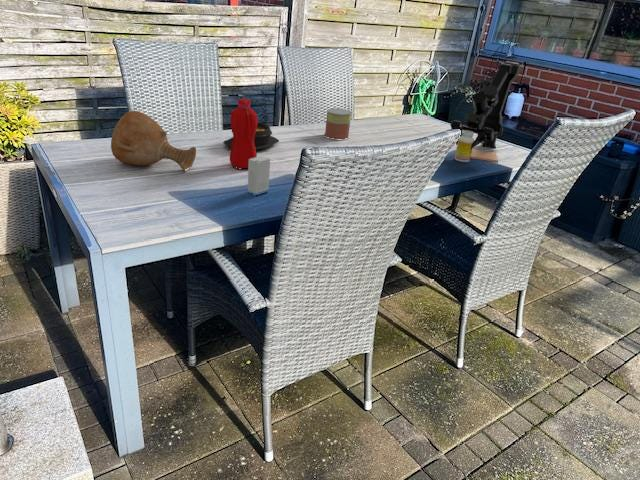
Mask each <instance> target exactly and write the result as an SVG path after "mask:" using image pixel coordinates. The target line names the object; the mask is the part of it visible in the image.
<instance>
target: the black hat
mask: <svg viewBox="0 0 640 480" xmlns="http://www.w3.org/2000/svg"><path fill="white" fill-rule="evenodd" d="M231 133H232V134H233V131H232V130H231ZM279 142H280V140H279V138H277V137H275V136H273V131H272V130H271V127H270V126H269V125H267V124H266V123H262V122H258V125H257V128H256V132H255V136H254V144H255V149H256V150H262V148H263V149H266V148H270V147H271V146H273V145H274V144H278V143H279ZM232 143H233V136H232V137H230V138H229V139H226V140H224V141H223V144H224V145H225V146H226V147H228V148H231V147H232Z"/></svg>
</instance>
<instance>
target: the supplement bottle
mask: <svg viewBox="0 0 640 480" xmlns="http://www.w3.org/2000/svg"><path fill="white" fill-rule="evenodd" d="M462 134H463V135H462V136H460V138H459V140H458V144H457V145H456V150H455V152H454V153H455V154H454V159H455V160H456V161H457V162H460V163H468V162H469V163H470V161H471V158H470V157H471V153H472V149H471V146H472V144H473V143H474V141H475V138H474V137H473V136H474V134H475V133H474V132H473V131H469V130H463V131H462Z"/></svg>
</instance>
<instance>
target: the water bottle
mask: <svg viewBox="0 0 640 480" xmlns="http://www.w3.org/2000/svg"><path fill="white" fill-rule="evenodd" d="M237 100H238V101H237V107H236V108H234V109H233V110H232V111H231V112H230V119H229V120H230V126H231V132H232V131H233V133H232V137H233V143H232V147H230V151H229V163H230V165H231V164H232V165H233V166H234V167H237V168H248V165H249V159H251V158H255V157H258V155H257V149H255V144H254V136H255V132H256V128H257V125H258V123H259V122H258V115H257V113H256V111H254V110H253V109H252V108H251V99H248V98H240V99H237ZM232 165H231V166H232ZM233 166H232V167H233ZM234 167H233V168H234Z"/></svg>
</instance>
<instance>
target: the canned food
mask: <svg viewBox="0 0 640 480" xmlns="http://www.w3.org/2000/svg"><path fill="white" fill-rule="evenodd" d="M351 116H352V112H351V111H350V110H349V109H343V108H337V107H336V108H334V107H332V108H327V109H326V119H325V120H326V121H325V129H324V130H325V132H324V137H325V136H326V137H329V138H334V139H345V138H348V139H349V134H350V125H351ZM326 137H325V138H326Z"/></svg>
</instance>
